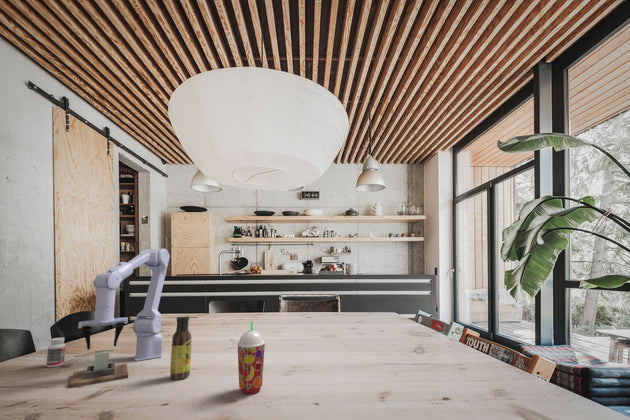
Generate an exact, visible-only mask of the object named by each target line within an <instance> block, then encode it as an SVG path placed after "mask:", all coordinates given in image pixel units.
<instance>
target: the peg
mask: <svg viewBox="0 0 630 420" xmlns="http://www.w3.org/2000/svg"><path fill="white" fill-rule="evenodd" d="M109 357H110V349H105V350H104V349H103V350H97V351H95V353H94V362H93V363H94V371H95V370H102V369H108V363H109Z"/></svg>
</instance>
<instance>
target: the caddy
mask: <svg viewBox="0 0 630 420" xmlns="http://www.w3.org/2000/svg"><path fill="white" fill-rule="evenodd" d="M124 379H125V380H126V379H129V370H128V364H127V363H123V364H117V365H116V363H115V361H113V362H108V369H102V370H95V371H94V365H88V366H87V368H86V369H84V370H79V371H74V372H73V374H72V377H71V378H70V382H69V384H68V388H69V389H72V388H78V387H84V386H89V385H95V384H101V383H107V382H114V381H117V380H124Z"/></svg>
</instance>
